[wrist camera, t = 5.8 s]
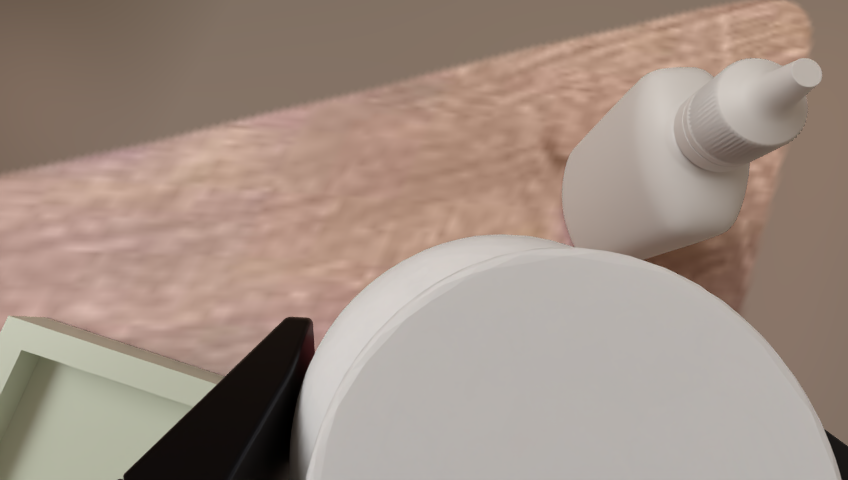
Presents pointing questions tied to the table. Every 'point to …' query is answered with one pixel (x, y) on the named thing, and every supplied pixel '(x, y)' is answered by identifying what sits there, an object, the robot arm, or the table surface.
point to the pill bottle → (548, 376)
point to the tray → (85, 401)
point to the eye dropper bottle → (680, 154)
